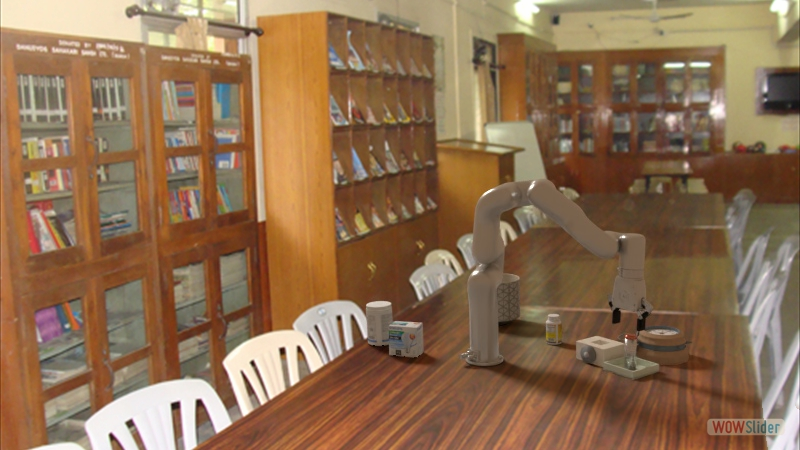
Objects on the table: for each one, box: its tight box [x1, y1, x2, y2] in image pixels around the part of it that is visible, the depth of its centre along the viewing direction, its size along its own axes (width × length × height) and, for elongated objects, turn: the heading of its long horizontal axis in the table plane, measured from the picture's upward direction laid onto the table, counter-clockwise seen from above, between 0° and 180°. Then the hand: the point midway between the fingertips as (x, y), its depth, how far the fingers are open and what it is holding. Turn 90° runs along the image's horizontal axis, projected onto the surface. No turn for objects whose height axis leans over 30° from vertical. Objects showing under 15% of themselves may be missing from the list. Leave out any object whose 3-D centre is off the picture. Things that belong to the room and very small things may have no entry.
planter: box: [497, 272, 521, 327], centre depth 306 cm, size 19×19×18 cm
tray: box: [602, 356, 660, 381], centre depth 246 cm, size 12×12×2 cm
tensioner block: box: [575, 335, 625, 368], centre depth 257 cm, size 12×12×6 cm
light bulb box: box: [388, 320, 424, 358], centre depth 271 cm, size 11×7×11 cm, turn 70°
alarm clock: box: [617, 325, 693, 366], centre depth 260 cm, size 17×9×23 cm
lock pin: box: [624, 333, 638, 371], centre depth 245 cm, size 4×4×11 cm
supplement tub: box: [365, 300, 394, 347], centre depth 284 cm, size 10×10×15 cm
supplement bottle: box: [545, 313, 563, 346], centre depth 278 cm, size 6×6×10 cm
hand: (628, 326), depth 244 cm, fingers open, 9 cm apart
